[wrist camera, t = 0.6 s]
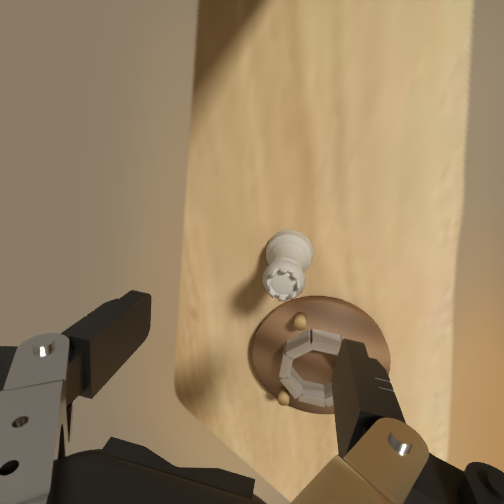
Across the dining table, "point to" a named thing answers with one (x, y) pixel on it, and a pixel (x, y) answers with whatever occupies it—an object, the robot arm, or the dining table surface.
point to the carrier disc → (311, 349)
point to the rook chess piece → (287, 264)
